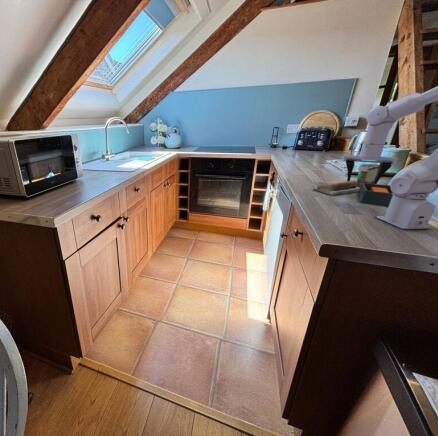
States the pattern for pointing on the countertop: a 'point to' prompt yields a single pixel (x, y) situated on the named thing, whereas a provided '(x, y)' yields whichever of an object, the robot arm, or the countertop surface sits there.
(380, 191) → the block
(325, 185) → the packaged product
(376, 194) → the dark grey open box
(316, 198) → the countertop surface
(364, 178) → the food container
